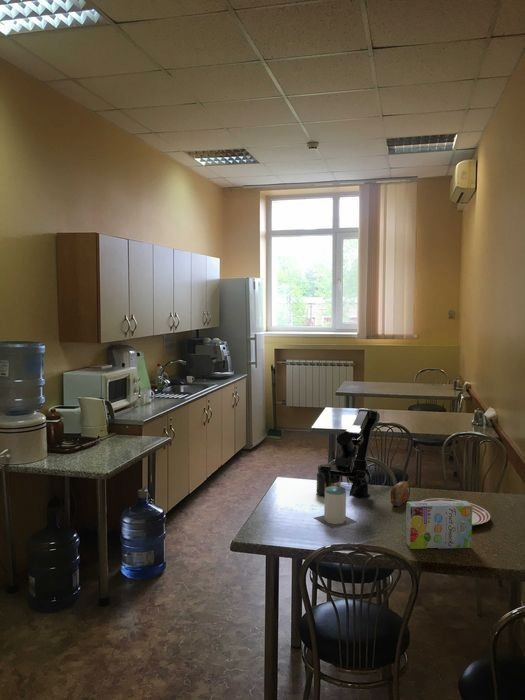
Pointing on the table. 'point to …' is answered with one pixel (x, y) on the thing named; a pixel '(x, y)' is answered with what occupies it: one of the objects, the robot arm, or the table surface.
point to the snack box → (438, 524)
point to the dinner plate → (477, 512)
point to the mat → (347, 522)
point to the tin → (400, 493)
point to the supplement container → (322, 482)
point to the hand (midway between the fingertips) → (338, 493)
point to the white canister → (335, 505)
